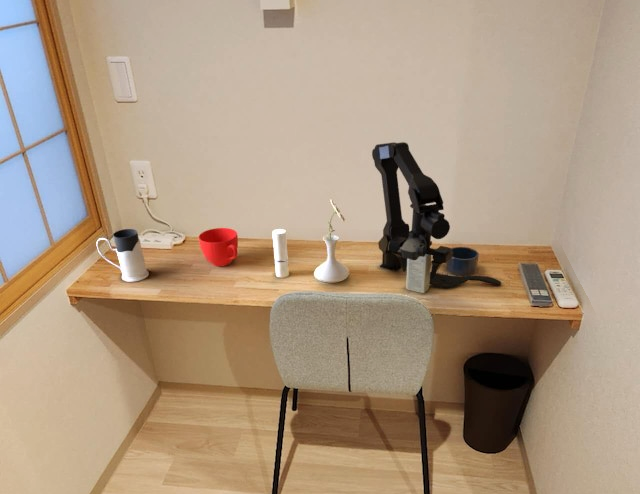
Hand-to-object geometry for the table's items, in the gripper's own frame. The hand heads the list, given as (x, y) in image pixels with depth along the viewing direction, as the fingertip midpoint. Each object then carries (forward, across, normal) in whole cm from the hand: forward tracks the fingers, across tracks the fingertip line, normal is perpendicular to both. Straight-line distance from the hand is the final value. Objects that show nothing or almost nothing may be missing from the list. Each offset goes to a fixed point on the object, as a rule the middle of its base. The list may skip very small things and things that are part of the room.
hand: (417, 275), depth 167 cm
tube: (+5, -42, -14) cm, 44 cm away
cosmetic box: (+5, 0, 0) cm, 5 cm away
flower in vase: (+5, -27, -7) cm, 28 cm away
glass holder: (+5, -86, -42) cm, 96 cm away
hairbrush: (+5, +10, +10) cm, 15 cm away
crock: (+4, +6, +20) cm, 21 cm away
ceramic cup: (+5, -64, -18) cm, 67 cm away
